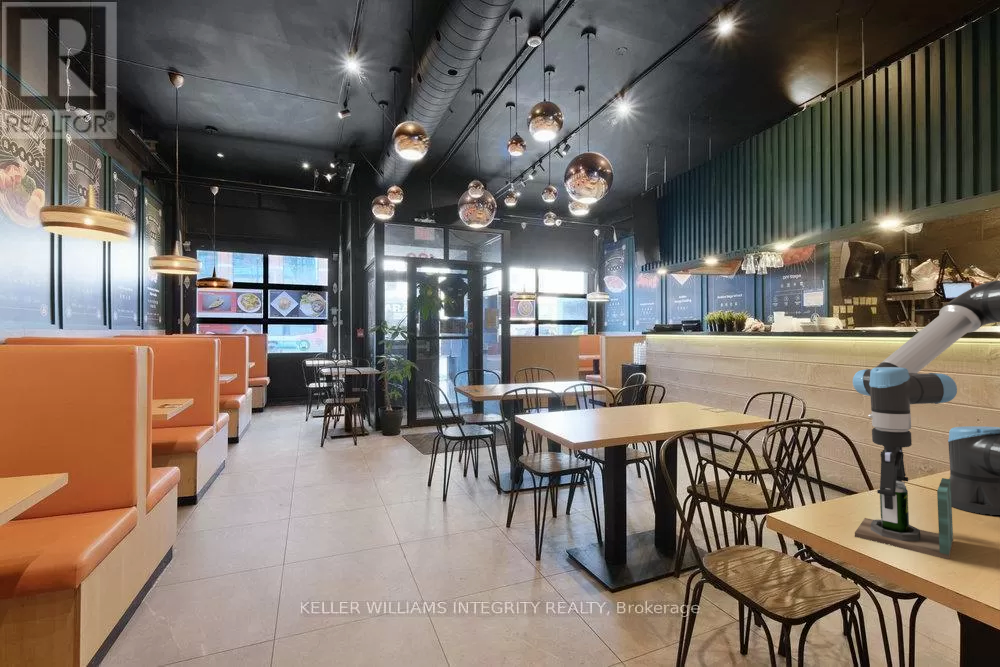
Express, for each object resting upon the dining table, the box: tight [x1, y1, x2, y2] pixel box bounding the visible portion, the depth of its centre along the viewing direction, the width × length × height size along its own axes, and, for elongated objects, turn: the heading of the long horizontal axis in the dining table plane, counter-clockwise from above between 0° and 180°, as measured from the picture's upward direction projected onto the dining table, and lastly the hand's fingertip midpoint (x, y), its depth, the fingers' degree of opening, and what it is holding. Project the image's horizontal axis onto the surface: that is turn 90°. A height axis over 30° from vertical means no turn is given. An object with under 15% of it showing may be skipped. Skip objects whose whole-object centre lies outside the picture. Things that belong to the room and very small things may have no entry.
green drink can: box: [879, 483, 910, 533], centre depth 114 cm, size 5×5×12 cm
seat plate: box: [854, 477, 954, 560], centre depth 113 cm, size 13×17×15 cm
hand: (894, 513), depth 114 cm, fingers open, 13 cm apart
